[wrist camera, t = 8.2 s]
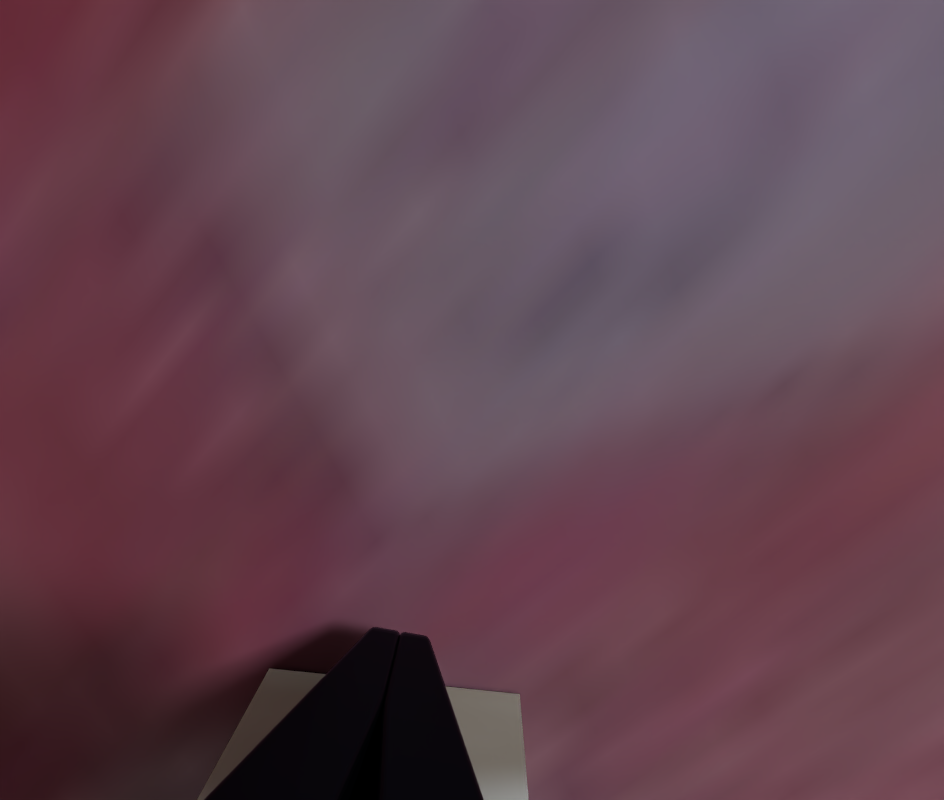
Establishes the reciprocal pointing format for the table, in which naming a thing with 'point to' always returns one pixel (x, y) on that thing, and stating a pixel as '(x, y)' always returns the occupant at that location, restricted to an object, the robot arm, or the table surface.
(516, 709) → the plug
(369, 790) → the robot arm
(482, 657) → the table surface
